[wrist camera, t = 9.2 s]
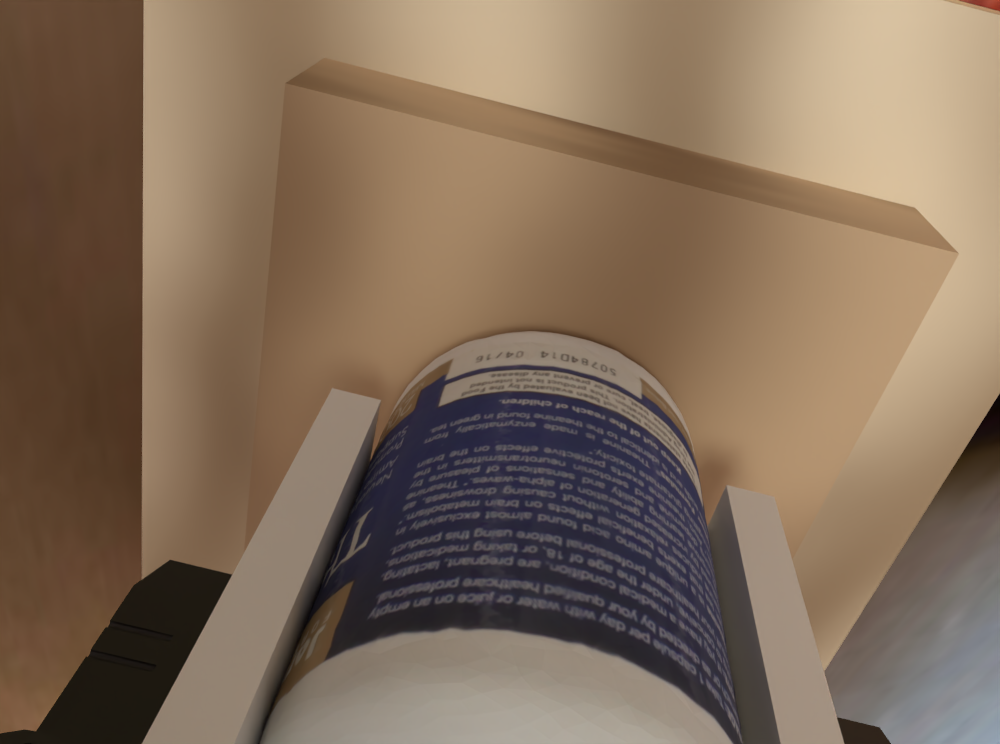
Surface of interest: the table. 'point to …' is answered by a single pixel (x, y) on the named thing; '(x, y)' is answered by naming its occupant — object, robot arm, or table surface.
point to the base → (610, 70)
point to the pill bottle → (519, 566)
